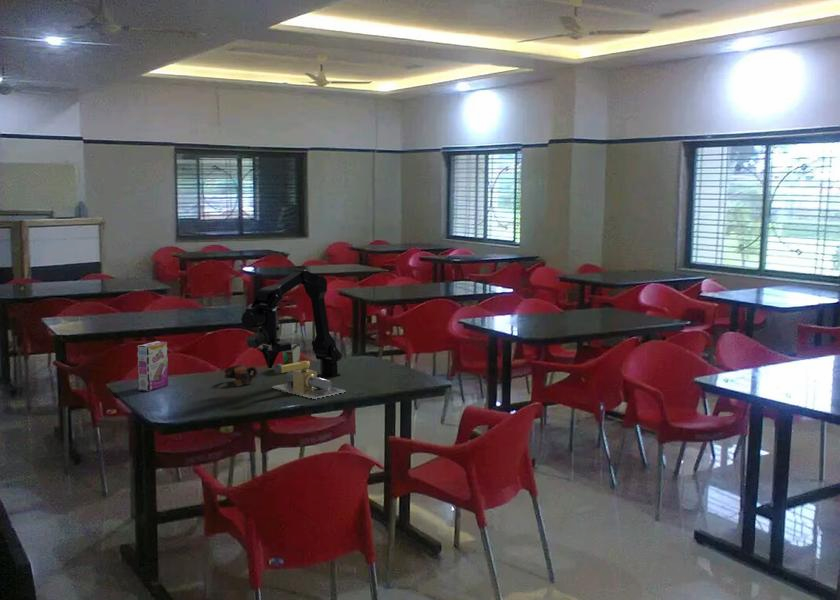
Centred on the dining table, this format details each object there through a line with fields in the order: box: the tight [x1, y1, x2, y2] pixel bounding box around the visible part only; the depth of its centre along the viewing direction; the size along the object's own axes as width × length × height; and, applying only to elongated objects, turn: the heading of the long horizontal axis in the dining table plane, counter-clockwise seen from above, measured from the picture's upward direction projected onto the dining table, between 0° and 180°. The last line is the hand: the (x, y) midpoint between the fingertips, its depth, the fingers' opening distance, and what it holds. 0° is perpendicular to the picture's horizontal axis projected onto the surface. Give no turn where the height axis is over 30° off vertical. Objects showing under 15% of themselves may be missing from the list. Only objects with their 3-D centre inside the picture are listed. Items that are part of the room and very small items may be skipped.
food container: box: [282, 341, 302, 371], centre depth 339 cm, size 12×6×10 cm, turn 172°
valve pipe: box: [272, 368, 346, 400], centre depth 302 cm, size 24×14×8 cm, turn 46°
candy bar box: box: [136, 341, 169, 392], centre depth 307 cm, size 11×5×16 cm, turn 159°
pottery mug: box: [224, 363, 259, 387], centre depth 315 cm, size 12×10×8 cm
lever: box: [273, 360, 311, 374], centre depth 299 cm, size 15×4×3 cm, turn 136°
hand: (269, 368), depth 300 cm, fingers closed
